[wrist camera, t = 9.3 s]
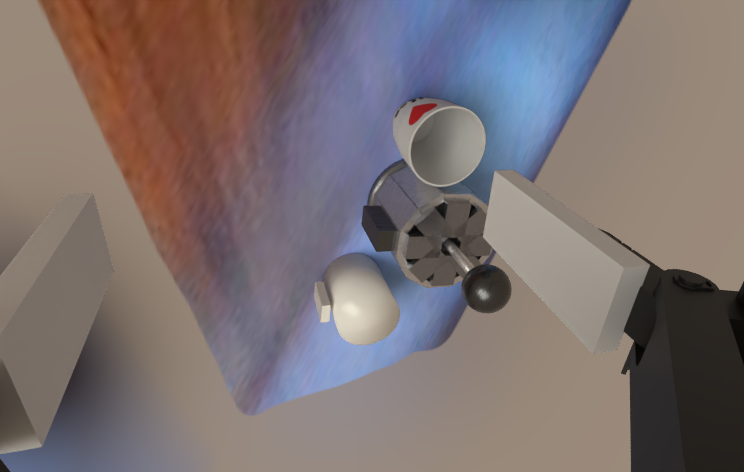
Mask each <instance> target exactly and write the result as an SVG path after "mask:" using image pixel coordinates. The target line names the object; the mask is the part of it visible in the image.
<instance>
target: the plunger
mask: <svg viewBox="0 0 744 472" xmlns="http://www.w3.org/2000/svg"><path fill="white" fill-rule="evenodd" d="M444 203H445V202H443V203H441V204H440V205H438V206H436V207H434V208H435V209H436V210H437V211H438V212H439V213H440V215H441V216H442V213H443V208H444ZM424 213H425V212H424ZM422 214H423V213H422ZM408 233H422V232H421V231H420V230H419V229H418V228H417V227H416V226H415V224H414V225H413V227H412V228H411V229H410V231H409V232H408ZM442 244H443V245H444V246H445V248H446V249H447V250H448V251H449V253H450V254H451V255H452V256H453V257H454V259H455V260H456V261H457V262H458V264H459V265H460V266H461V267H462V268H463V270H464V271H465V272H466V273H467V274H466V275H465V277H464V279H463V282H462V295H463V298H464V300H465V302H466V303H467V304H468V305H469V306H470V307H471V308H472V309H474V310H476V311H478V312H481V313H493V312H496V311H498V310H500V309H502V308H503V307H504V306H505V305H506V304H507V302H508V301H509V299H510V296H511V283H510V280H509V278H508V276H507V275H506V274H505V272H503V271H502V270H501V269H500V268H498V267H496V266H493V265H488V264H484V265H478V266H476V267H474V266H473V264H472V263H471V262H470V261H469V260H468V259H467V257H466V256H465V255H464V254H463V253H462V252H461V250H460V249H459V248H458V247H457V246H456V245H455V244H454V242H453V241H452V240H451V239H450V238H448V239H446V240H445V241H444V242H443V243H442Z"/></svg>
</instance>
